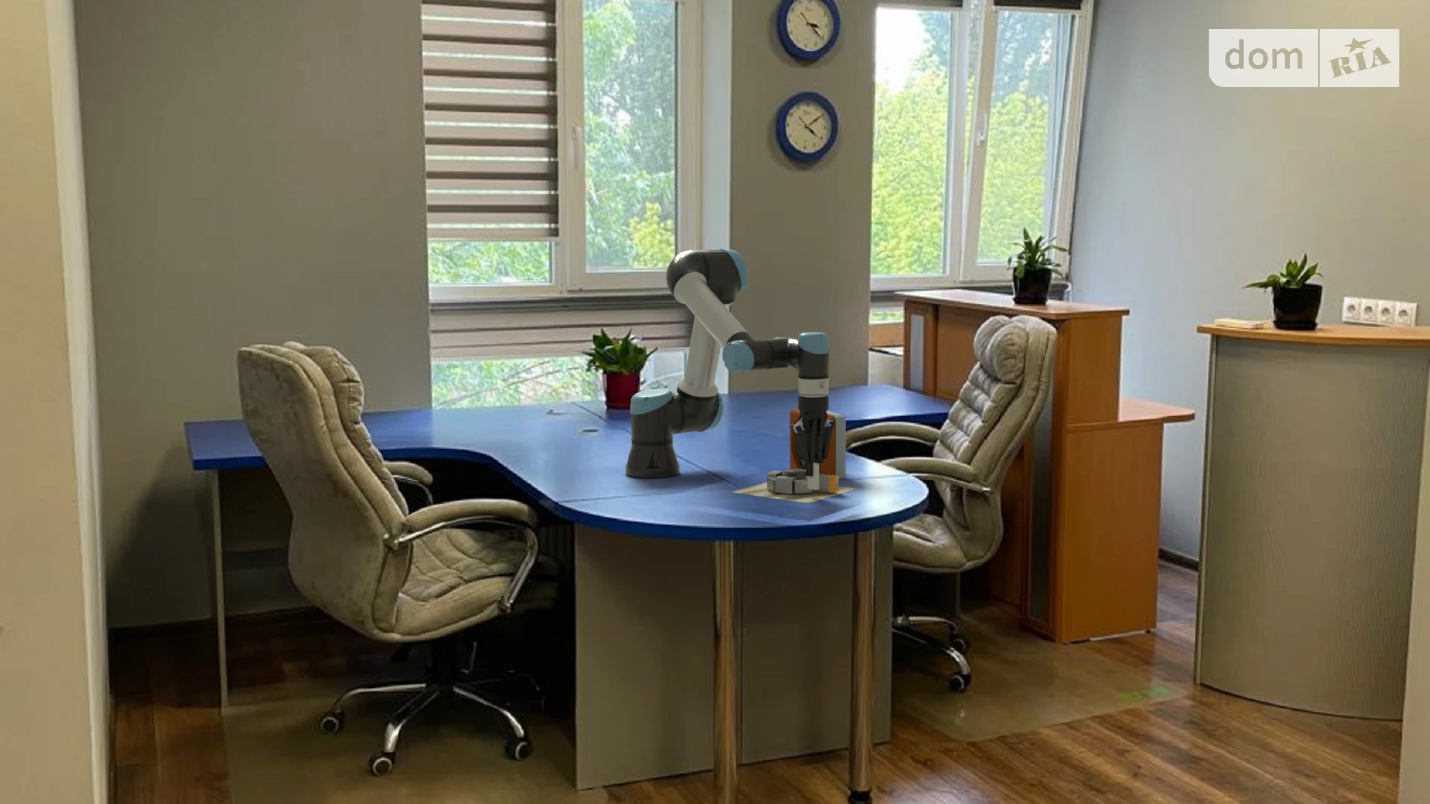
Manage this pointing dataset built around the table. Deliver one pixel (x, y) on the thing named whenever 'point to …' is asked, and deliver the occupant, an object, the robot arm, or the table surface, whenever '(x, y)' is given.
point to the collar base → (801, 497)
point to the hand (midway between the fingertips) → (813, 488)
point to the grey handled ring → (800, 483)
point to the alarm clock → (837, 447)
